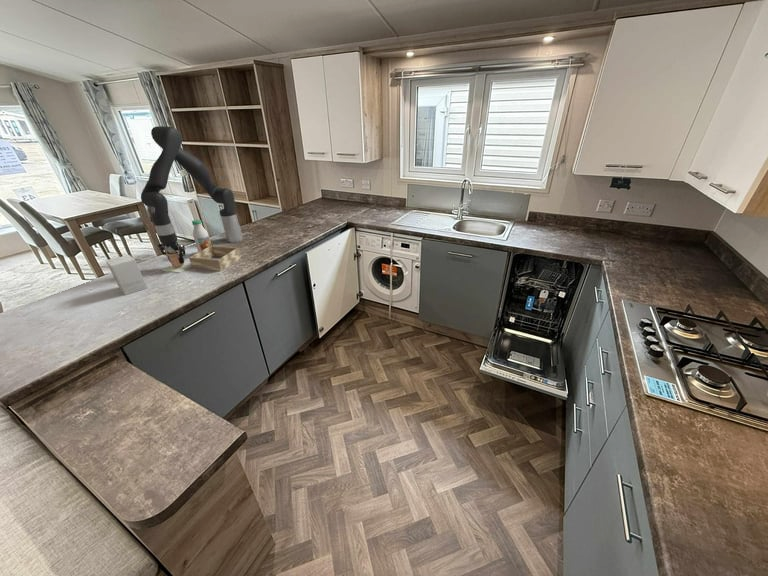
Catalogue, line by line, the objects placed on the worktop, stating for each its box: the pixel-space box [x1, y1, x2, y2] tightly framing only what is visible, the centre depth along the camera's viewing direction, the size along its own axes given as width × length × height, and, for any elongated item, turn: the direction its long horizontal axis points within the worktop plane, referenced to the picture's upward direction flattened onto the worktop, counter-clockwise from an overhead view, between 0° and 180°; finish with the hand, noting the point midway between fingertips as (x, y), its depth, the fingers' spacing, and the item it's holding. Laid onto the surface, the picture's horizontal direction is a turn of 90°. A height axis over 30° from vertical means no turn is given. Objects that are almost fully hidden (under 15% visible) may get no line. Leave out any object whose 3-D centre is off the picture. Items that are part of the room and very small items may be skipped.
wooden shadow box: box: [188, 245, 242, 272], centre depth 165 cm, size 18×18×6 cm
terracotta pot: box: [166, 247, 184, 267], centre depth 157 cm, size 6×6×11 cm
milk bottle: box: [191, 219, 213, 253], centre depth 172 cm, size 8×8×20 cm
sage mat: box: [161, 261, 192, 274], centre depth 160 cm, size 11×11×1 cm
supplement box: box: [105, 254, 148, 296], centre depth 136 cm, size 9×9×15 cm
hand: (177, 262), depth 159 cm, fingers open, 5 cm apart
